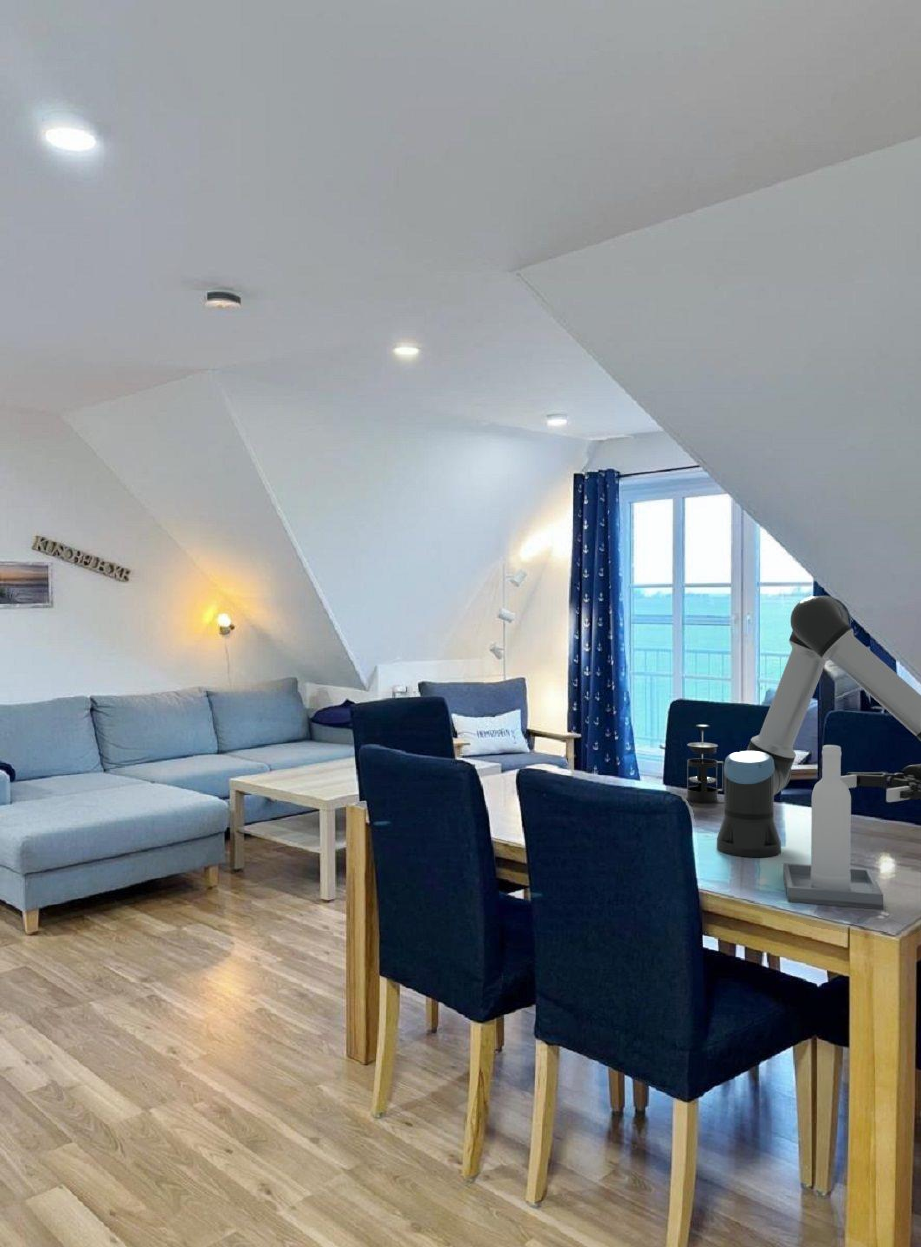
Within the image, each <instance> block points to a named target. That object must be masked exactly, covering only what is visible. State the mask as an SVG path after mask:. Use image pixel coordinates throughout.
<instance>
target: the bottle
mask: <svg viewBox="0 0 921 1247" xmlns="http://www.w3.org/2000/svg"><path fill="white" fill-rule="evenodd" d="M821 755H822V761H821V762H822V769H821V770H822V773H821V774H822V777H821V779H820V780H819V781H817V782H816V783H815V784H814V787H813V790H812V792H811V793H812V794H811V828H810V829H811V836H810V838H811V840H810V841H811V843H810V845H811V846H810V847H811V848H810V850H811V851H810V852H811V853H810V865H811V886H812V887H813V888H822V889H835V890H850V883H851V873H850V868H851V848H852V847H851V841H852V840H851V838H852V837H851V835H852V834H851V833H852V831H851V830H852V826H851V825H852V823H851V822H852V820H851V819H852V818H851V816H852V795H851V792H850V790H849V789H850V788H848V786H847V785H846V784H845V783H844V782H843V781H842V780H841V776H842V775H841V772H842V771H841V770H842V769H841V766H842V765H841V763H842V760H841V759H842V747H841V746H840V745H836V744H825V745H823V746H822V751H821Z"/></svg>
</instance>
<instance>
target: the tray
mask: <svg viewBox="0 0 921 1247" xmlns="http://www.w3.org/2000/svg"><path fill="white" fill-rule="evenodd" d="M782 863H783V865H782V867H783V868H782V870H783V871H782V873H783V874H782V876H783V882H784V888H785V893H786V894H785V895H786V900H787V902H788V903H796V904H809V905H811V904H812V905H822V906H823V905H824V906H835V907H836V906H837V907H845V908H846V907H848V908H857V909H858V908H859V909H860V908H862V909H870V910H871V909H873V910H884V893H883V892H882V889H881V888H880V887H881V886H880V885H879V884H878V881H877V879H876V877H875V875H874V873H873V872H872V869H871V868H863V867H862V868H858V867H850V873H851V883H850V890H835V889H822V888H813V887H812V886H811V864H802V863H787V862H782Z"/></svg>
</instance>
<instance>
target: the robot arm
mask: <svg viewBox="0 0 921 1247" xmlns="http://www.w3.org/2000/svg"><path fill="white" fill-rule="evenodd" d="M851 622H852V616H851V612H850V611H849V608H848V607H847V605H846V604H845V603H843V602H842V601H841V600H839V599H837V598H835V597H833V596H830V595H819V596H818V595H816V596H809V597H807V598H804V599H802V600H800V601H799V602H798V603H797V604H796V605H795V606H794V608H793V610H792V611H791V615H790V622H789V623H790V627H791V629H792V630H791V631H792V632H791V633H790V637H789V639H788V642H789V644H790V646H791V651H790V653H789V657H788V659H787V663H786V665H785V667H784V670H783V673H782V674H781V678H780V680H779V683H778V685H777V688H776V691H775V693H774V696H773V697H772V700H771V701H772V702H771V703H770V705H769V709H768V711H767V714H766V716H765V718H764V721H763V724H762V727H761V729H760V733H759V734H758V735H755V736H752V738H751V739H750V742H749V743H748V746H747V749H746V750H740V751H739V752H738V751H736V752H732V753H730V754H728V755H727V756H726V757H725V760H724V791H723V793H724V794H723V795H724V796H723V797H724V800H723V801H724V803H723V804H724V806H723V807H724V812H723V813H724V815H723V820H722V823H721V825H720V829H719V831H718V834H717V837H716V848H717V850H718V851H721V852H723V853H725V854H729V855H733V856H737V857H738V856H739V857H744V858H745V857H746V858H767V857H768V858H769V857H774V856H777V855H780V854H781V852H782V843H781V839H780V835H779V833H778V829H777V826H776V823H775V820H774V819H775V816H774V812H775V811H774V807H775V806H774V805H775V800H774V799H775V796H776V795H777V794H779V793H780V792H782V791H783V790H784V789H785V788H786V787H787V785H788V784H789V782H790V779H791V776H792V768H793V765H794V762H795V759H796V757H797V754H796V752H795V750H794V748H793V746H794V745H795V742H796V739H797V737H798V734H799V731H800V729H801V727H802V724H803V722H804V720H805V717H806V714H807V712H808V709H809V707H810V704H811V701H812V698H813V696H814V693H815V691H816V688H817V685H818V683H819V681H820V678H821V676H822V673H823V670H824V668H825V666H826V663H827V661H828V660H830V661H831V662H832V663H833V664H834V665H836V666H837V667H838V668H839V669H840V670H841V671H842V672H843V673H844V674H845V675H847V676H848V677H849V678H850V679H851V680H852V681H854V682H855V683H856V684H857V685H858V686H859V687H860V688H862V689H863V690H864V691H865V692H866V694H868V695H869V696H870V697H871V698H873V700H875V701H876V702H877V703H879V705H880V706H882V707H883V709H885V710H886V711H887V712H889V714H890V715H891V716H893V717H894V718H895V719H896V720H897V721H899V723H900V724H902V725H903V726H904V727H905V728H906V729H907V730H909V732H911V733H912V734H913V735H914V736H915V737H916V738H917V739H918V740H919V741H920V742H921V694H920V693H919V692H918V691H917V690H916V689H914V688H913V687H912V686H911V685H910V684H909V683H908V682H906V680H904V679H903V678H902V677H901V676H900V675H899V674H897V673H896V671H895V670H894V669H892V668H891V667H889V666H888V664H886V663H885V662H884V661H883V660H882V659H880V657H879V656H877V655H876V654H875V653H873V651H871V650H870V649H869V648H868V647H867V646H866V645H864V644H863V643H862V642H861V641H860V640H859V639H858V638H857V637H856V636H855V633H854V629H853V628H852V627H851ZM845 773H846V775H841V780H842V781H843V782H844V783H845V784H846V785H847V786H848V789H853V790H854V789H855V788H857V786H860V787H880V788H883V789H884V790H886V793H885V794H886V795H885V797H886V798H885V799H886V800H885V801H886V802H887V803H892V802H893V803H894V802H900V801H905V800H906V801H907V800H910V799H911V800H913V801H914V800H918V799H920V801H921V763H919V764H911V765H907V766H905V767H904V768H903V769H902V770H901V771H900V772H895V773H888V771H879V772H877V771H876V772H875V771H874V772H870V771H869V772H861V771H860V772H858V771H857V772H855V771H852V772H851V771H848V772H845ZM888 782H889V783H888ZM888 784H889V785H888Z"/></svg>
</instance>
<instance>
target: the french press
mask: <svg viewBox="0 0 921 1247" xmlns="http://www.w3.org/2000/svg"><path fill="white" fill-rule="evenodd" d="M695 727H696V728H697V727H698V728H700V732H701V742H689V743H687V747H689V749H690V750H691V751H692V752H693V753H694V754H696V755H701V758H698V757H697V758H696V757H695V758H689V759H687V761H686V762H687V765H686V766H687V770H686V771H687V772H686V774H687V779H686V780H687V781H686V784H687V785H686V788H687V789H686V801H688V802H691V803H697V804H714V803H718V802H719V798H718V795H719V794H718V792H724V766H725V761H722V760H721V761H720V760H719V761H718V760H716V759H713V758H704V755H712V754H716V753H717V748H718V747H719V745H718V744H716V743H711V742H704V732H705V728H710V725H709V724H696V725H695ZM719 764H722V767H721V768H722V775H721V776H722V777H721V778H722V783H721V784H722V786H721V787H722V788H718V779H719V778H718V777H719V776H718V771H719V768H718V766H719ZM689 767H690V768H691V767H693V768H697V776H690V775H689V773H690V772H689V770H690V769H689ZM708 768H709V769H710V768H715V773H716V774H715V775H716V776H715V777H712V776H711V777H710V776H708ZM689 776H690V777H689ZM689 783H692V784H693V783H695V784H697V785H692V786H689ZM714 783H715V787H712V786H708V784H714Z"/></svg>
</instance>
